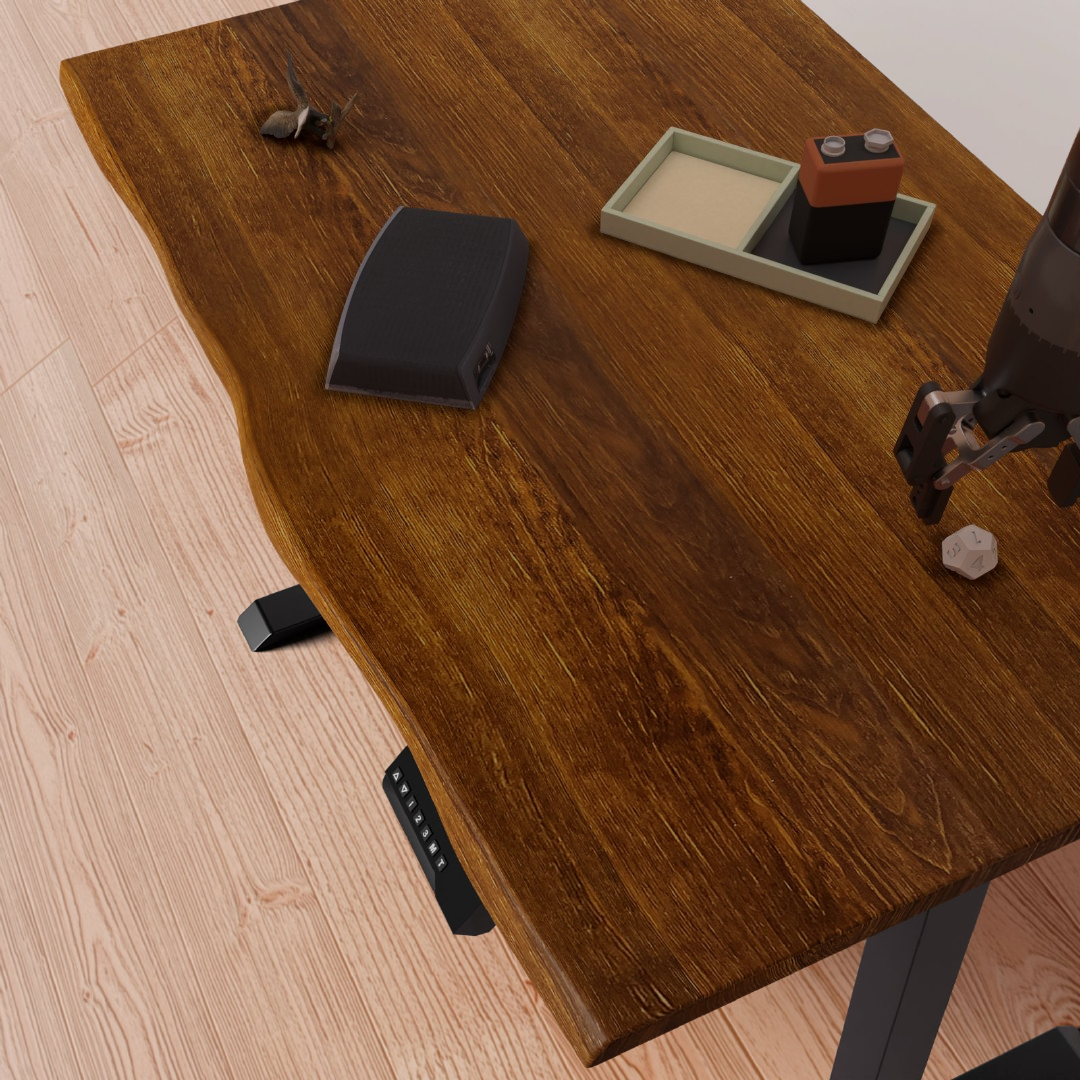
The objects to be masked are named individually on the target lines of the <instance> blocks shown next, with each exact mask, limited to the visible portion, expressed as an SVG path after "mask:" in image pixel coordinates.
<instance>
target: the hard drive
mask: <svg viewBox="0 0 1080 1080" xmlns="http://www.w3.org/2000/svg"><path fill="white" fill-rule="evenodd" d="M529 256H530V243H529V241H528V239H527V236H526V235H525V233H524V231H523V230H522V228H521V226H520V225H519V223H518V222H517V221H516V220H515V218H512V217H511V218H510V217H499V216H490V215H481V214H480V215H479V214H471V213H461V212H454V211H445V210H437V209H429V208H418V207H411V206H404V205H399V206H398V207H397V208H396V209H394V212H392V214H391V215H390V216H389V217H388V219H387V221H385V223H384V224H383V226H382V227H381V229H380V230H379V232H377V235H376V236H375V238H374V240H373V242H372V243H371V244H370V246H369V248H368V250H367V252H366V253H365V255H364V258H363V259H362V261H361V263H360V266H359V267H358V269H357V271H356V274H355V277H354V279H353V281H352V284H351V286H350V289H349V292H348V294H347V297H346V300H345V303H344V306H343V310H342V312H341V315H340V319H339V323H338V326H337V330H336V334H335V337H334V342H333V345H332V350H331V354H330V359H329V363H328V364H329V365H328V367H327V373H326V379H325V385H324V390H327V391H331V392H332V391H333V392H339V393H347V394H355V395H362V396H369V397H376V398H377V397H378V398H385V399H390V400H398V401H406V402H414V403H420V404H426V405H427V404H429V405H435V406H442V407H451V408H459V409H465V410H471V411H476V410H477V407H478V406H480V404H481V402H482V401H483V398H484V397H485V395H486V393H487V391H488V390H489V389H488V388H489V386H490V385H491V382H492V380H493V378H494V375H495V373H496V371H497V369H498V366H499V364H500V361H501V360H502V356H503V355H504V352H505V349H506V346H507V344H508V341H509V338H510V336H511V332H512V329H513V327H514V324H515V320H516V317H517V313H518V310H519V306H520V302H521V299H522V294H523V291H524V285H525V281H526V276H527V271H528V264H529Z"/></svg>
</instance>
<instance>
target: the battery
mask: <svg viewBox="0 0 1080 1080" xmlns="http://www.w3.org/2000/svg"><path fill="white" fill-rule="evenodd" d="M801 155H802V157H801V161H800V164H801V166H800V171H799V177H798V182H797V187H796V192H795V198H794V203H793V208H792V214H791V219H790V224H789V230H788V234H789V236H790V239H791V241H792V244H793V246H794V249H795V251H796V253H797V256H798V258H799V261H800V262H801V263H803V264H808V263H819V262H830V261H840V260H851V259H861V258H872V257H878V256H879V255H880V254H881V252H882V248H883V244H884V241H885V237H886V233H887V230H888V226H889V222H890V219H891V215H892V211H893V208H894V204H895V200H896V197H897V193H899V189H900V185H901V182H902V179H903V174H904V170H905V166H906V160H905V159H904V157H903V154H902V153H901V151H900V149H899V147H898V145H897V143H896V142H895V139H894V137H893V135H892V134H891V132H890V130H885V129H880V128H876V127H874V128H873V129H870V130H868V131H866V132H860V133H849V134H837V135H826V136H813V137H809V138H807V139H806V140H805V142H804V144H803V151H802V154H801Z"/></svg>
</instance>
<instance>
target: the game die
mask: <svg viewBox="0 0 1080 1080" xmlns="http://www.w3.org/2000/svg"><path fill="white" fill-rule="evenodd" d="M941 550H942V551H941V553H942V564H943V566H944V567H945V568H946V569H948V570H950V571H952V572H955V573H956V574H958V575H960V576H962V577H964V578H966V579H968V580H971V581H973V580H976V579H978V578H980V577H981V576H983V575H985V574H986V573H988V572H990V571H991V570H993V569H995V567H996V566H997V564H998V561H999V558H998V542H997V540H996V538H995V536H994V534H993V533H992V532H990V531H987V530H985V529H983V528H981V527H979V526H976V525H975V524H973V523H972V524H969V525H965V526H963V527H962V528H960V529H958V530H957V531H955V532H953V533H952V534H950V535H949V536H947V537H946V538H945V539H944V540H942V542H941Z"/></svg>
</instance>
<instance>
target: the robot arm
mask: <svg viewBox="0 0 1080 1080" xmlns="http://www.w3.org/2000/svg"><path fill="white" fill-rule="evenodd" d="M985 352H986V354H985V362H984V367H983V371H982V372H981V374H980V376H978V377H977V379H976V380H974V381H973V382H972V384H970V386H969V387H968V388H967V389H965V390H952V391H944V390H943V388H942V387H941V385H940V383H939V382H938V381H936V380H929V381H926V382H924V383H923V384H921V386H920V387H919V388H918V390H917V392H916V394H915V397H914V399H913V402H912V404H911V406H910V409H909V411H908V413H907V416H906V418H905V420H904V422H903V425H902V427H901V430H900V431H899V434H898V437H897V439H896V441H895V444H894V446H893V449H892V453H893V456H894V458H895V461H896V462H897V464H898V466H899V468H900V470H901V473H902V475H903V478H904V480H905V481H906V483H907V485H908V486H910V487H912V488H911V490H910V493H909V502H910V503H911V505H912V507H913V510H914V512H915V514H916V516H917V518H918V520H920V519H921V521H922V523H923V524H924V525H925V526H926V527H927V526H934V525H939V524H940V523H941V520H942V518H943V515H944V513H945V510H946V508H947V505H948V503H949V501H950V498H951V496H952V494H953V491H954V490H955V489H954V488H955V487H954V485H955V484H956V483H957V482H959V481H960V480H961V479H962V478H964V477H965V476H967V475H968V474H969V473H971V472H972V471H973V470H977V471H980V472H983V471H985V470H987V469H988V468H990V467H991V466H992V465H994V464H995V463H996V462H998V461H999V460H1000V459H1002V458H1003V457H1004V456H1005V455H1007V454H1012V453H1020V452H1022V451H1023V452H1024V451H1026V450H1029V449H1050V448H1052V449H1053V448H1057V447H1059V445H1060V443H1063V442H1065V441H1067V440H1069V439H1072V440H1073V441H1074V442H1069V443H1065V445H1064V447H1063V449H1062V451H1061V453H1060V455H1059V456H1058V458H1057V461H1056V462H1055V464H1054V466H1053V468H1052V470H1051V472H1050V474H1049V476H1048V478H1047V480H1046V488H1047V490H1048V492H1049V494H1050V495H1051V497H1052V499H1053V501H1054V503H1055V504H1056V506H1057V507H1058V508H1059V509H1065V508H1070V507H1074V505H1075V503H1076V501H1077V500H1078V498H1079V499H1080V127H1079V128H1078V130H1077V133H1076V135H1075V137H1074V139H1073V142H1072V144H1071V147H1070V149H1069V152H1068V155H1067V157H1066V159H1065V161H1064V164H1063V166H1062V169H1061V171H1060V174H1059V176H1058V179H1057V182H1056V184H1055V187H1054V189H1053V191H1052V194H1051V197H1050V199H1049V201H1048V203H1047V206H1046V208H1045V210H1044V213H1043V215H1042V217H1041V218H1040V219H1039V221H1038V223H1037V225H1036V226H1035V228H1034V230H1033V231H1032V234H1031V235H1030V237H1029V239H1028V241H1027V243H1026V245H1025V248H1024V250H1023V253H1022V255H1021V258H1020V260H1019V263H1018V265H1017V269H1016V270H1015V273H1014V276H1013V278H1012V281H1011V282H1010V285H1009V287H1008V291H1007V293H1006V295H1005V298H1004V300H1003V303H1002V305H1001V308H1000V311H999V314H998V316H997V318H996V321H995V324H994V326H993V329H992V331H991V334H990V337H989V338H988V342H987V346H986V351H985ZM977 424H978V426H979V427H980V429H981V430H982V432H983V434H984V435H985V436H986V438H987V439H988V441H987V442H986V443H984V444H983V445H982V446H980V444H979V442H978V440H977V439H976V437H975V435H974V428H975V426H977ZM956 448H957V450H958V455H957V457H955V458H954V459H953V460H952V461H950V462H949V463H948V461H947V459H946V456H947V455H948V454H950V453H952V452H953V450H955V449H956Z"/></svg>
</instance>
